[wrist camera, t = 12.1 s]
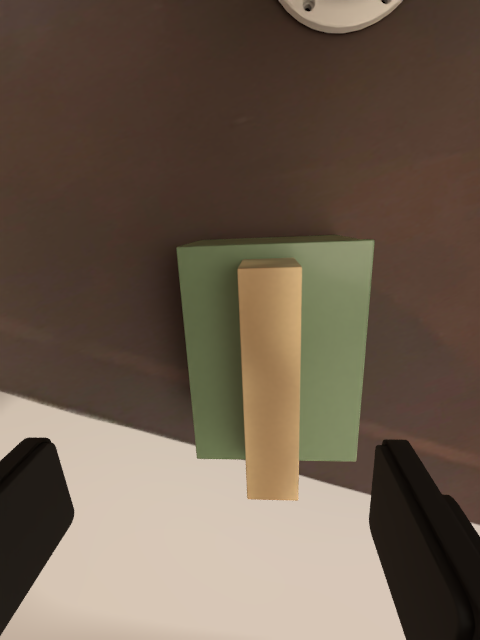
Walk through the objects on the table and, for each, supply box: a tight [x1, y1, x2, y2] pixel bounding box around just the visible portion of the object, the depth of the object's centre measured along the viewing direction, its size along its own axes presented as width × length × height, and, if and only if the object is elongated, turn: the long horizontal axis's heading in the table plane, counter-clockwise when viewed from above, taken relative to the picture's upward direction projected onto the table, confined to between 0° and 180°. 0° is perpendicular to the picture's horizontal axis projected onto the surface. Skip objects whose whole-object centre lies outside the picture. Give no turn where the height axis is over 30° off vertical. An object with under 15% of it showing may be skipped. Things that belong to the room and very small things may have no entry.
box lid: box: [176, 239, 375, 461], centre depth 24 cm, size 13×18×1 cm
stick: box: [237, 258, 302, 500], centre depth 21 cm, size 4×16×4 cm, turn 3°
